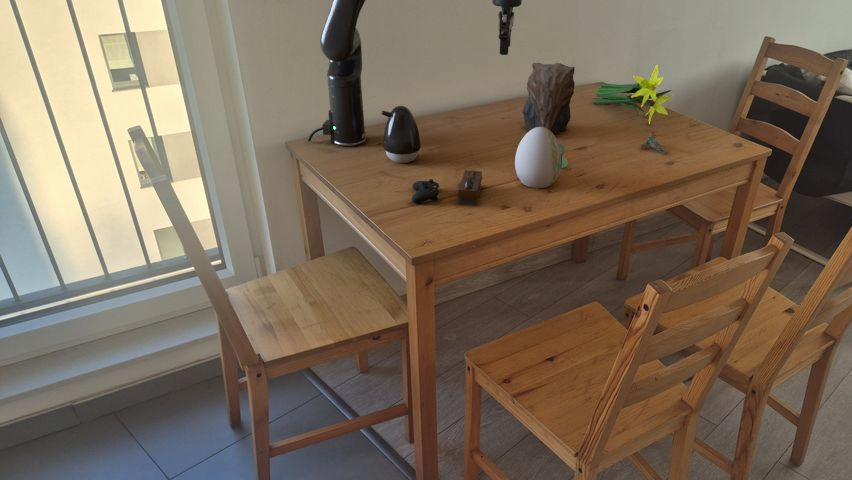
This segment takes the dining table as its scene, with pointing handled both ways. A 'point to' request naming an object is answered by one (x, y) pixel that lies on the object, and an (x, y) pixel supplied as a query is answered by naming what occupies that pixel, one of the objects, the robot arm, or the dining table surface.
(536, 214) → the dining table surface
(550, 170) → the decorative egg
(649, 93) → the daffodil flowers
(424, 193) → the game controller
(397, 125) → the pump dispenser
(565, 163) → the seedling
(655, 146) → the dragon figurine
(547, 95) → the owl
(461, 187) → the scrub brush
